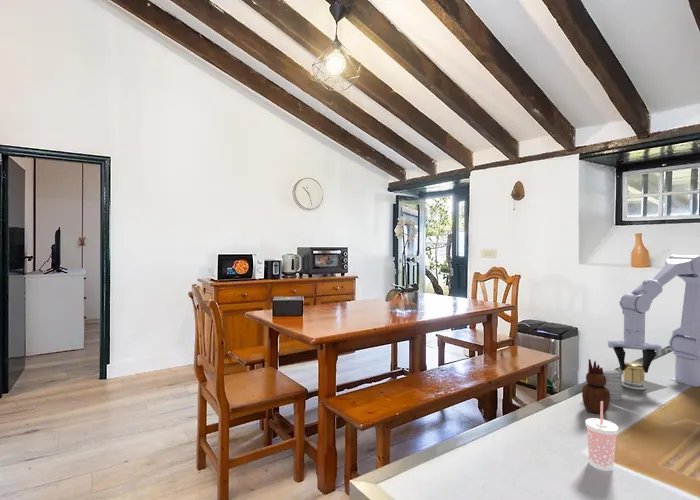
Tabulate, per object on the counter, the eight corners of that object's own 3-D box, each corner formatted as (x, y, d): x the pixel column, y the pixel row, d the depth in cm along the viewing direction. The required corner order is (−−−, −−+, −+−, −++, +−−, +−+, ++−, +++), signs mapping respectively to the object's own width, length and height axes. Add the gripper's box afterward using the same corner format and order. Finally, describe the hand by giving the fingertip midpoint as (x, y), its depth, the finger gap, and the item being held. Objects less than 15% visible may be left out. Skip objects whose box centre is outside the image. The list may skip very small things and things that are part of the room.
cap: (620, 378, 134) (620, 363, 133) (629, 375, 136) (630, 361, 136) (637, 383, 129) (637, 368, 129) (647, 381, 131) (647, 365, 131)
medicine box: (613, 395, 126) (614, 368, 126) (621, 401, 122) (622, 373, 121) (587, 394, 127) (587, 367, 127) (594, 400, 122) (595, 372, 122)
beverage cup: (587, 454, 91) (588, 394, 91) (619, 463, 88) (620, 400, 87) (582, 465, 87) (583, 402, 86) (616, 476, 83) (617, 409, 83)
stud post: (628, 381, 137) (628, 366, 137) (651, 388, 131) (651, 372, 131) (616, 385, 134) (616, 368, 134) (638, 392, 128) (638, 375, 128)
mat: (635, 378, 141) (635, 377, 141) (667, 388, 132) (667, 387, 132) (606, 385, 134) (606, 384, 134) (639, 396, 125) (639, 395, 125)
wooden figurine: (582, 412, 114) (583, 360, 113) (581, 405, 119) (582, 355, 118) (610, 417, 110) (611, 363, 110) (608, 409, 116) (609, 358, 115)
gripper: (612, 331, 131) (611, 372, 131) (665, 334, 126) (664, 377, 126) (606, 326, 137) (605, 365, 138) (657, 329, 132) (656, 370, 133)
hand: (633, 370), depth 132 cm, fingers open, 6 cm apart
